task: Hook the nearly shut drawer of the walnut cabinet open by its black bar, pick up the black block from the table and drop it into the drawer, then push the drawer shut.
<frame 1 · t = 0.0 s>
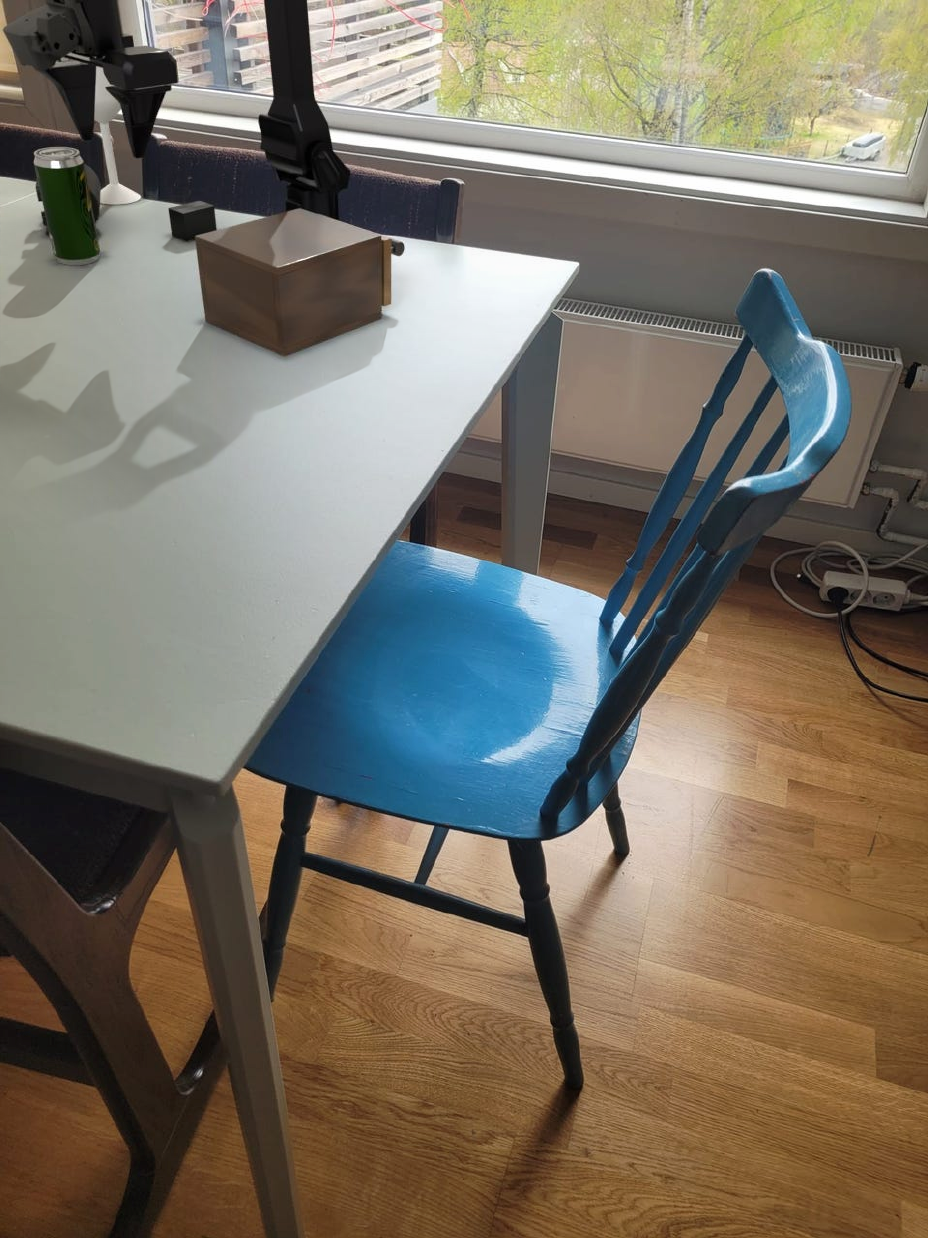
hand: (112, 148, 102), 15 cm above the table, tool pointing down, fingers open, 9 cm apart
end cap: (77, 226, 127), on the table
black block: (194, 234, 126), on the table
beer can: (78, 260, 117), on the table
drawer: (326, 267, 106), point 5 cm above the table, slide at 1.0 cm
champagne flute: (116, 198, 137), on the table
cabinet: (294, 320, 106), on the table
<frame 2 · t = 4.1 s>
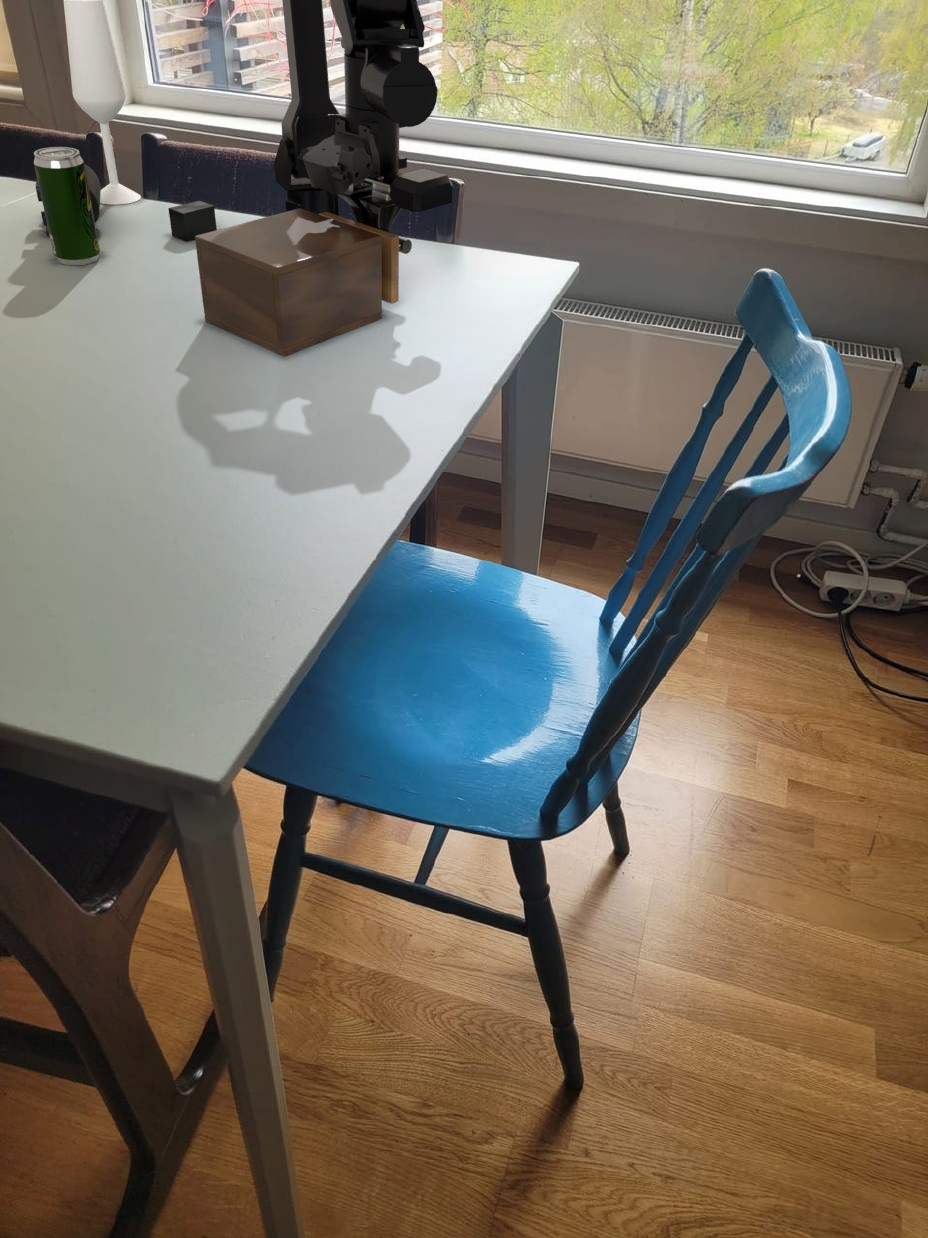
hand: (373, 254, 111), 4 cm above the table, tool pointing down, fingers closed, pressing on drawer
drawer: (334, 265, 107), point 5 cm above the table, slide at 2.2 cm, touching gripper
everything else where it was.
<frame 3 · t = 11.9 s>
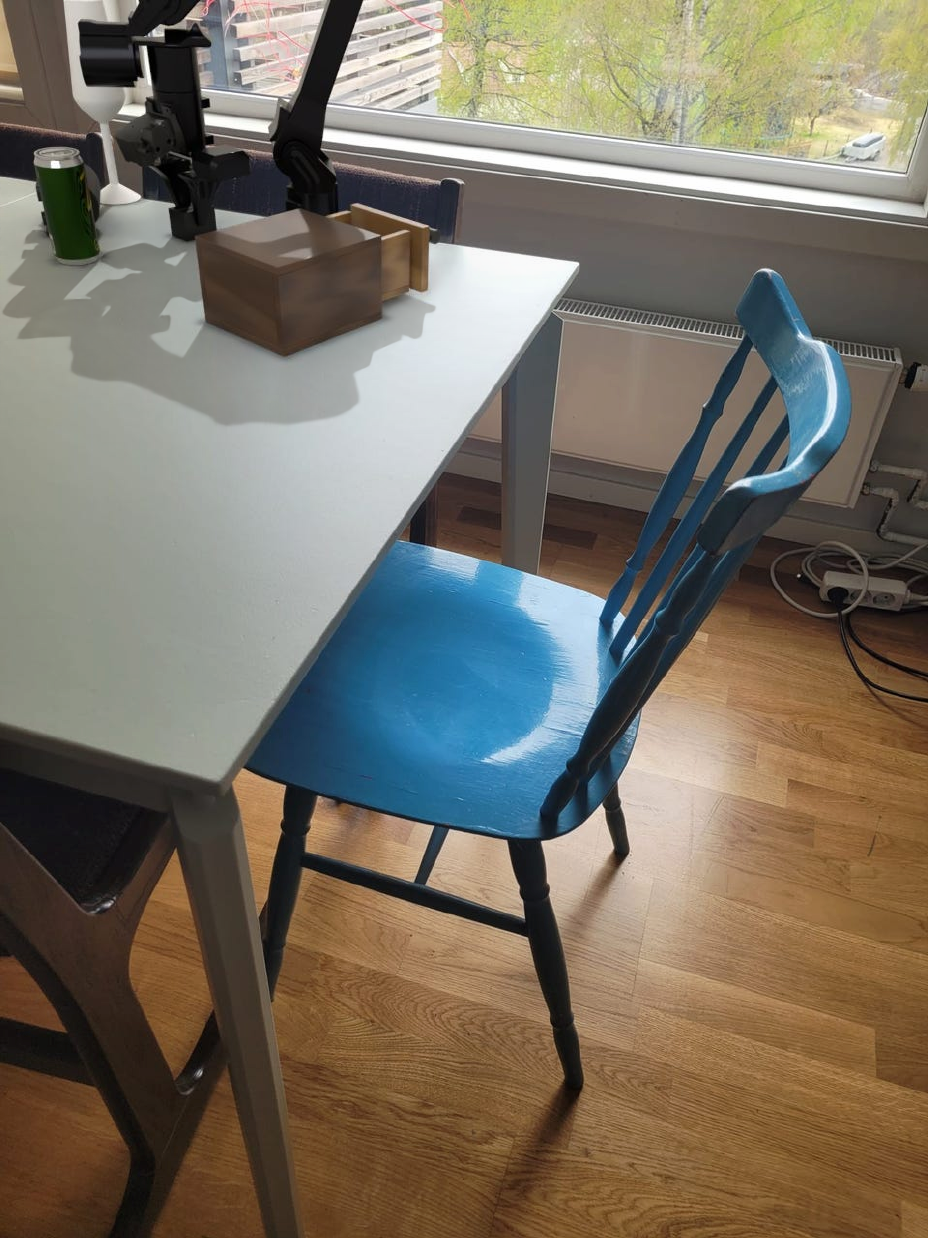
hand: (193, 222, 125), 2 cm above the table, tool pointing down, fingers closed on black block, 3 cm apart
black block: (194, 234, 126), on the table, touching gripper
drawer: (366, 254, 110), point 5 cm above the table, slide at 7.3 cm
everything else where it was.
when the fingers open (7 cm above the table, at t = 18.1 s): black block stays where it is, resting on drawer.
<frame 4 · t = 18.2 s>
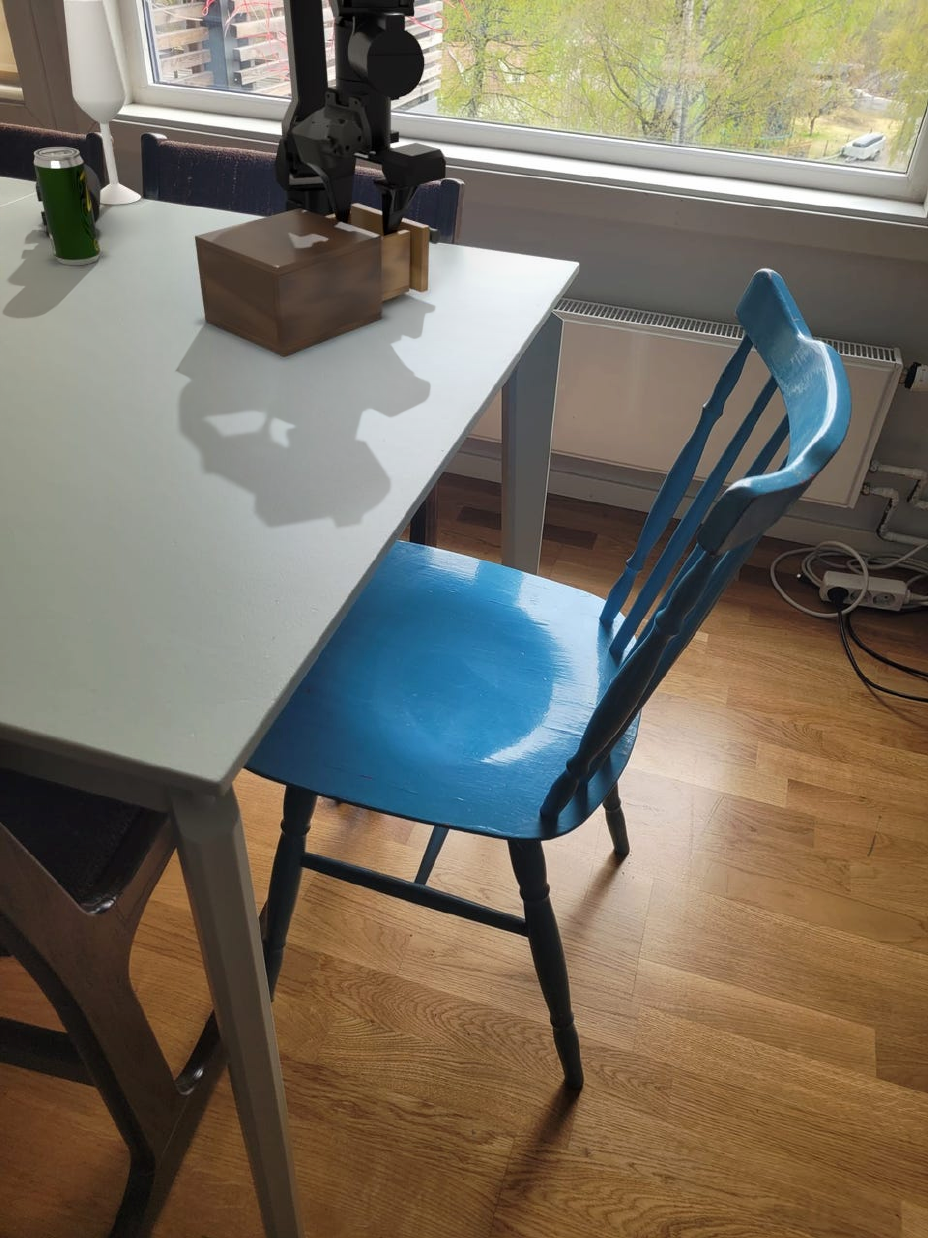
hand: (365, 232, 108), 7 cm above the table, tool pointing down, fingers open, 7 cm apart
black block: (365, 277, 111), point 2 cm above the table, touching drawer
drawer: (366, 254, 110), point 5 cm above the table, slide at 7.3 cm, touching black block
everything else where it was.
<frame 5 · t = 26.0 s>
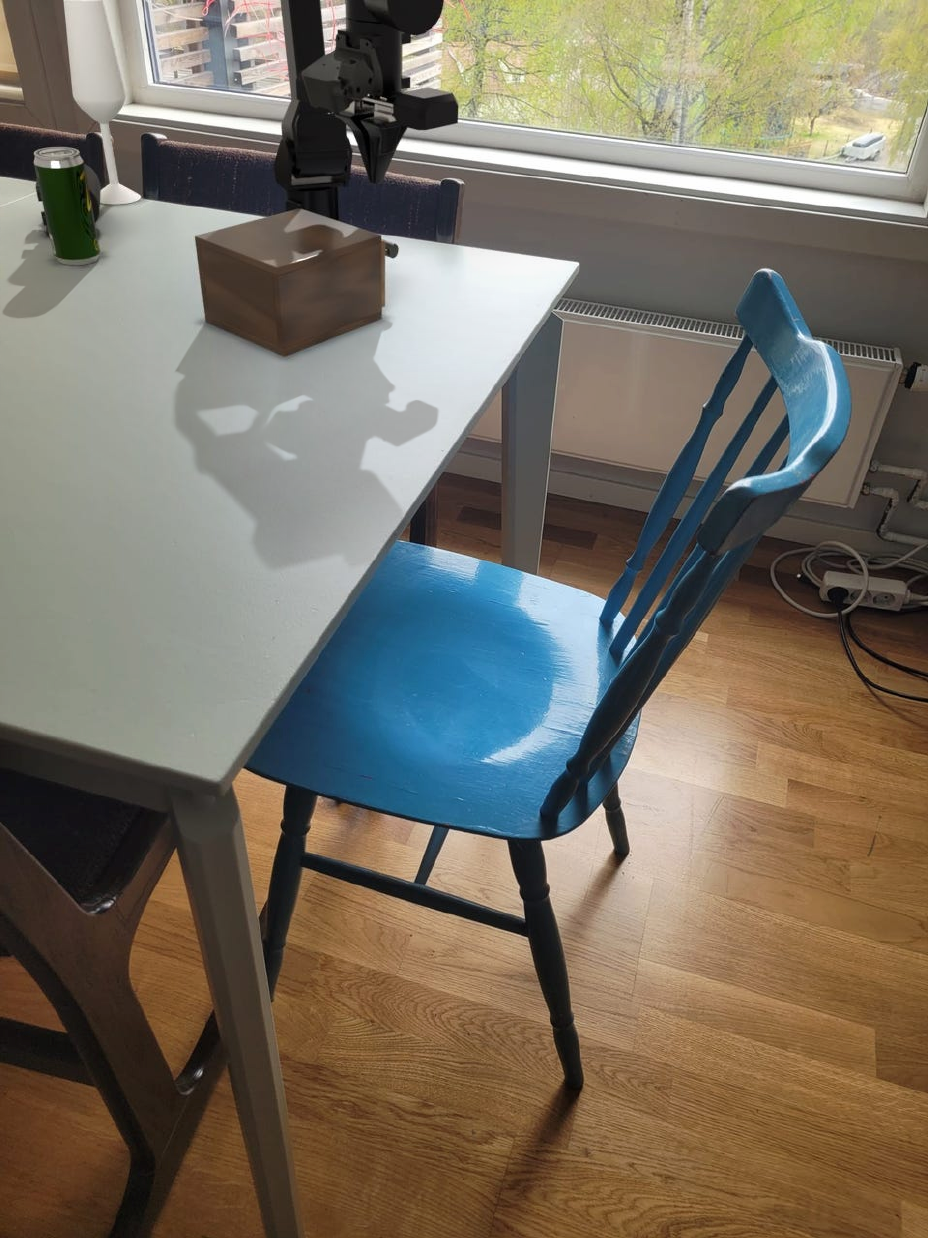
hand: (375, 183, 106), 12 cm above the table, tool pointing down, fingers closed
black block: (319, 293, 107), point 2 cm above the table, touching drawer
drawer: (319, 269, 105), point 5 cm above the table, slide at 0.0 cm, touching black block, cabinet
everything else where it was.
at the end: drawer pulled out 7.3 cm at the most during the clip, back to where it started at the end; black block inside the target area in the cabinet (3.9 cm from its centre), point 2.0 cm above the cabinet's base; drawer slide at 0.0 cm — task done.
